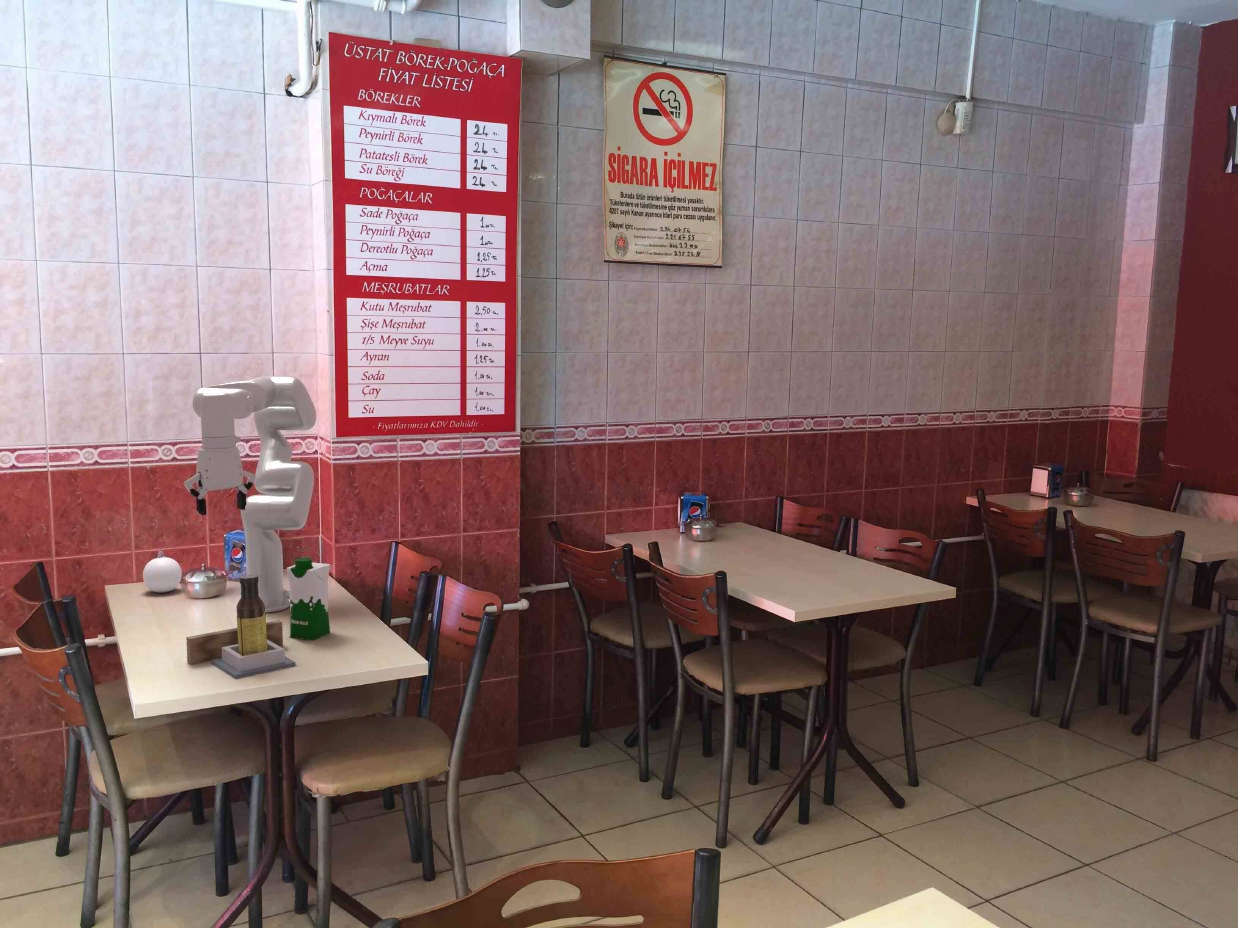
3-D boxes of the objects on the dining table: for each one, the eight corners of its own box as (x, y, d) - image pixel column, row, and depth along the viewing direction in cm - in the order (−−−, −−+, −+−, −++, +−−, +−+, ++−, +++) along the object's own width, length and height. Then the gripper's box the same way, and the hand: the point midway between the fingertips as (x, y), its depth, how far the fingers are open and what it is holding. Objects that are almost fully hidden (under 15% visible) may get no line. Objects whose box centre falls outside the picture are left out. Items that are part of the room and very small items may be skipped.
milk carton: (284, 638, 250) (282, 559, 247) (307, 628, 258) (305, 552, 256) (314, 642, 247) (312, 562, 244) (335, 632, 255) (334, 555, 253)
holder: (270, 650, 239) (270, 635, 239) (295, 665, 229) (295, 649, 229) (211, 662, 230) (210, 646, 229) (235, 678, 220) (234, 662, 219)
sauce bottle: (273, 659, 231) (270, 574, 228) (252, 666, 225) (249, 580, 223) (254, 654, 234) (251, 571, 231) (232, 662, 228) (229, 577, 226)
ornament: (151, 587, 297) (149, 548, 295) (186, 587, 298) (185, 547, 296) (138, 596, 286) (136, 555, 285) (175, 596, 288) (173, 555, 286)
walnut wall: (279, 643, 245) (278, 619, 244) (283, 645, 243) (282, 621, 243) (187, 662, 230) (186, 636, 229) (190, 664, 229) (189, 638, 228)
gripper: (246, 438, 251) (249, 504, 254) (176, 444, 240) (180, 514, 242) (259, 441, 246) (262, 509, 249) (188, 447, 234) (192, 519, 237)
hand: (222, 511), depth 246 cm, fingers open, 9 cm apart
